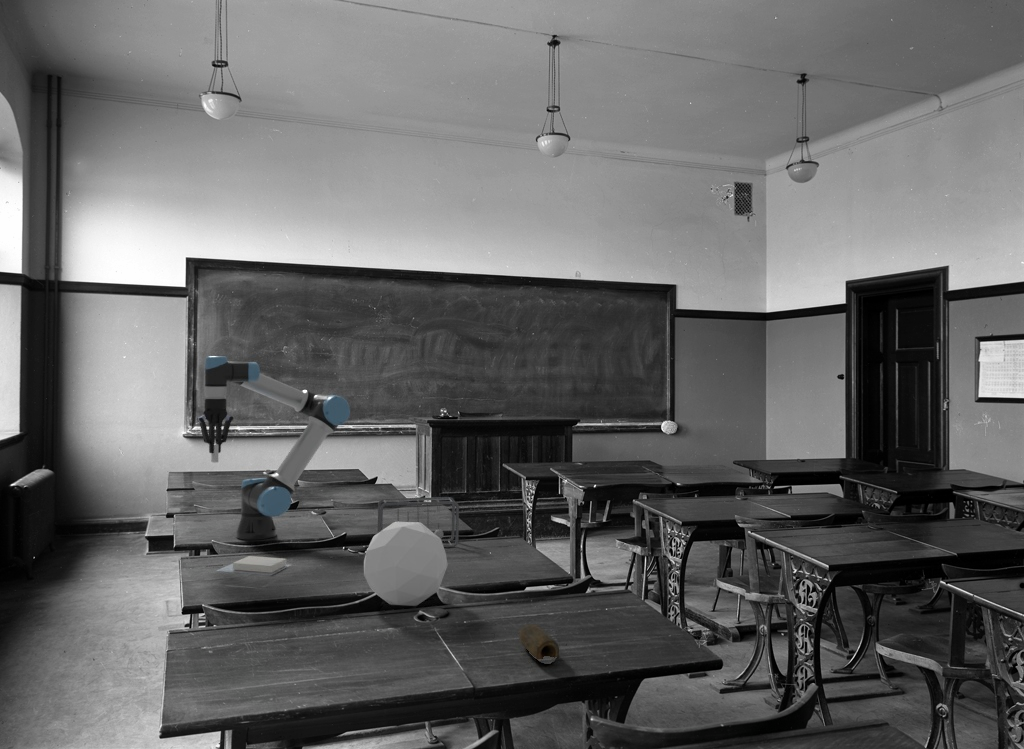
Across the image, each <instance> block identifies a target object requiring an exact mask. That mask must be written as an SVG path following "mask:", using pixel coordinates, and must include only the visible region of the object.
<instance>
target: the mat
mask: <svg viewBox="0 0 1024 749" xmlns="http://www.w3.org/2000/svg"><path fill="white" fill-rule="evenodd" d="M291 566H292V564H287V563H286V566H285V567H283V568H281V569H279V570H277V571H275V572H273V573H261V572H249V571H237V570H233V563H231V564H228V565H226V566H223V567H221V568H218V569H217V570H215V572H221V573H223V572H225V573H236V574H246V575H247V574H250V575H260V576H261V575H262V576H270V577H271V576H273V575H275V574H277V573H279V572H281V571H282V570H285V569H287V568H289V567H291Z"/></svg>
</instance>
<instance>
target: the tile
mask: <svg viewBox="0 0 1024 749" xmlns="http://www.w3.org/2000/svg"><path fill="white" fill-rule="evenodd" d="M232 564H233V570H237V571H249V572H261V573H273V572H275V571H277V570H279V569H281V568H283V567H285V566H286V564H287V558H283V557H281V558H280V557H269V556H268V557H266V556H256V555H255V556H254V555H248V556H246V557H243V558H242V559H238V560H236V561H234V562H232Z"/></svg>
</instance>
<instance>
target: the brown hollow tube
mask: <svg viewBox="0 0 1024 749" xmlns="http://www.w3.org/2000/svg"><path fill="white" fill-rule="evenodd" d="M518 636H519V637H518V638H519V642H520V644H521V643H522V644H523V645H524V647H525V648H526V649H527V650H528V651H529V652H530V653H531V654H532V655H533V656H534V657H536V658H537V659H543V657H544V656H550V657H554V658H555V657H558V658H559V656H560V647H559V644H558V643H557V642H556V640H555V639H554V638H552V637H551V635H549V634H548V633H547V632H545V630H544V629H542V628H541V627H539V626H538V625H536V624H526V625H524V626H523V627H522V628H521V629H520V631H519V635H518ZM522 644H521V645H522ZM523 645H522V646H523ZM524 647H523V648H524ZM525 648H524V649H525ZM526 649H525V650H526ZM527 650H526V651H527Z"/></svg>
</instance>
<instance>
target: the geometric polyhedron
mask: <svg viewBox="0 0 1024 749" xmlns="http://www.w3.org/2000/svg"><path fill="white" fill-rule="evenodd" d="M441 540H442V538H441V539H440V538H439V537H438V536H437V535H435V534H434V532H433V531H431V529H429V527H428V526H426V525H424V524H423V523H422V522H420V521H419V522H418V521H416V522H413V521H409V522H408V521H399V522H398V521H397V522H395V521H393V522H392V523H391V524H390V525H388V526H386V527H385V528H382V531H381V532H379V533H378V532H377V533H376V534H375V535H374V536H373V537H372V539H371V540H370V543H369V545H368V547H367V550H366V551H365V552H366V553H365V556H364V559H363V577H364V578H365V581H366V582H367V584H368V587H369V588H370V589H371V590H372V591H373V593H375V594H376V595H377V596H378V597H380V599H382V600H383V601H385V602H386V603H387V604H389V605H391V606H410V607H411V606H412V607H417V606H418V605H419V604H421V603H422V602H424V601H425V600H427V599H429V598H430V597H431V596H433V595H434V594H436V593H437V592H438V591H439V590H440V587H441V584H442V582H443V580H444V576H445V573H446V571H447V568H448V566H449V565H448V560H447V559H448V558H447V554H446V550H445V548H444V547H443V545H444V543H443V542H442V541H441Z"/></svg>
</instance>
